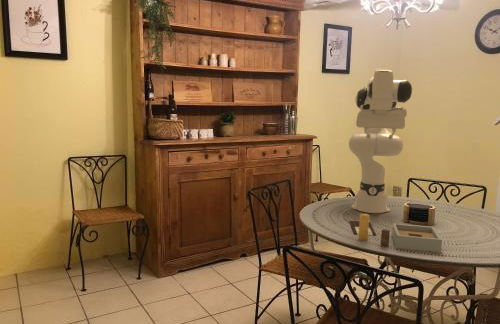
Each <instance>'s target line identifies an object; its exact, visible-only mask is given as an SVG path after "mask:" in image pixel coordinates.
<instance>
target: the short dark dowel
mask: <svg viewBox="0 0 500 324" xmlns="http://www.w3.org/2000/svg"><path fill="white" fill-rule="evenodd" d="M390 233H391V232H390V230H389V229H386V228H382V229H381V233H380V236H381V237H380V238H381V239H380V246H382V247H385V248H386V247H389V243H390Z"/></svg>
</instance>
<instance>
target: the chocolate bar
mask: <svg viewBox="0 0 500 324" xmlns="http://www.w3.org/2000/svg"><path fill="white" fill-rule="evenodd" d="M359 223H360V220H349V224H350V228H351V230H352V232H353V235H356V236H357V235H358V236H359ZM368 236H374V237H376V236H377V233H376V232H375V230H374V228H373V226H372V224H371V222H370V221H369V227H368Z"/></svg>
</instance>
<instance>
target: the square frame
mask: <svg viewBox="0 0 500 324" xmlns="http://www.w3.org/2000/svg"><path fill="white" fill-rule="evenodd" d="M391 229H392V230H391V236H392V240H393V242H394V246H395V249H401V250H412V251H420V252H429V251H431V252H430V253H438V254H441V253H442V245H443V244H442V243H443V239H442V237H441V236H440V234H439V232H438V231H437V229H436V228H435V227H434V226H426V225H416V224H415V225H414V224H404V223H394V222H393V223H392V228H391Z"/></svg>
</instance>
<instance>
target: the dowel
mask: <svg viewBox="0 0 500 324" xmlns="http://www.w3.org/2000/svg"><path fill="white" fill-rule="evenodd" d="M359 221H360V223H359V235H358V240H360V241H368V238H369V235H368V227H369V222H370V214H367V213H360V214H359Z"/></svg>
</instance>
